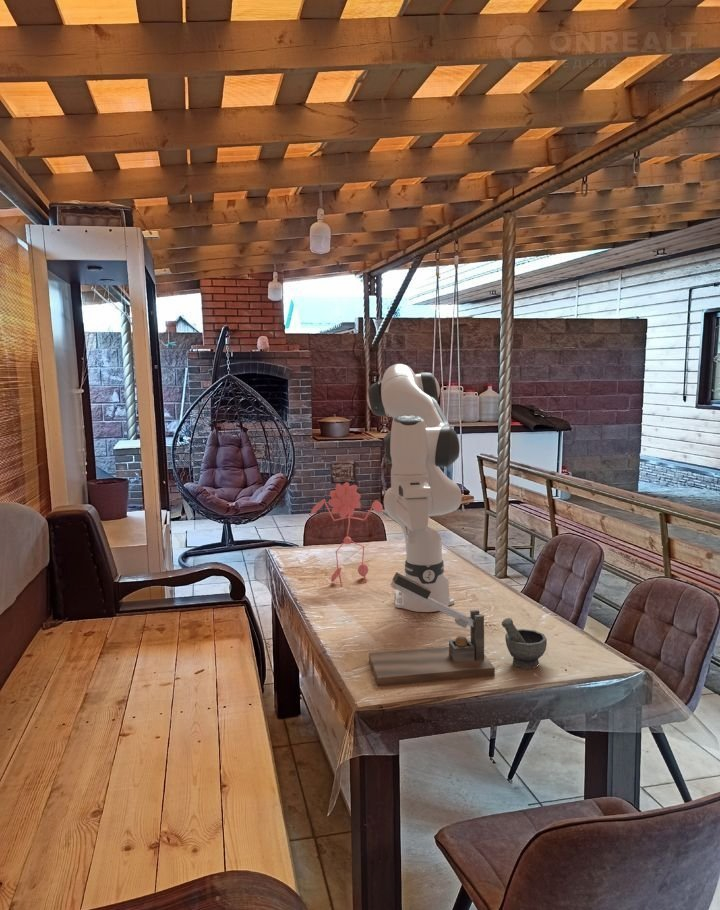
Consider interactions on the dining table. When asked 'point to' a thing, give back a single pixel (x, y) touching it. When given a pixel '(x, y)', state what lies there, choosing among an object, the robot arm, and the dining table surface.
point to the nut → (461, 641)
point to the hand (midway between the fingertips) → (410, 542)
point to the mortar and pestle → (524, 645)
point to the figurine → (345, 504)
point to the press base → (435, 661)
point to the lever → (428, 599)
